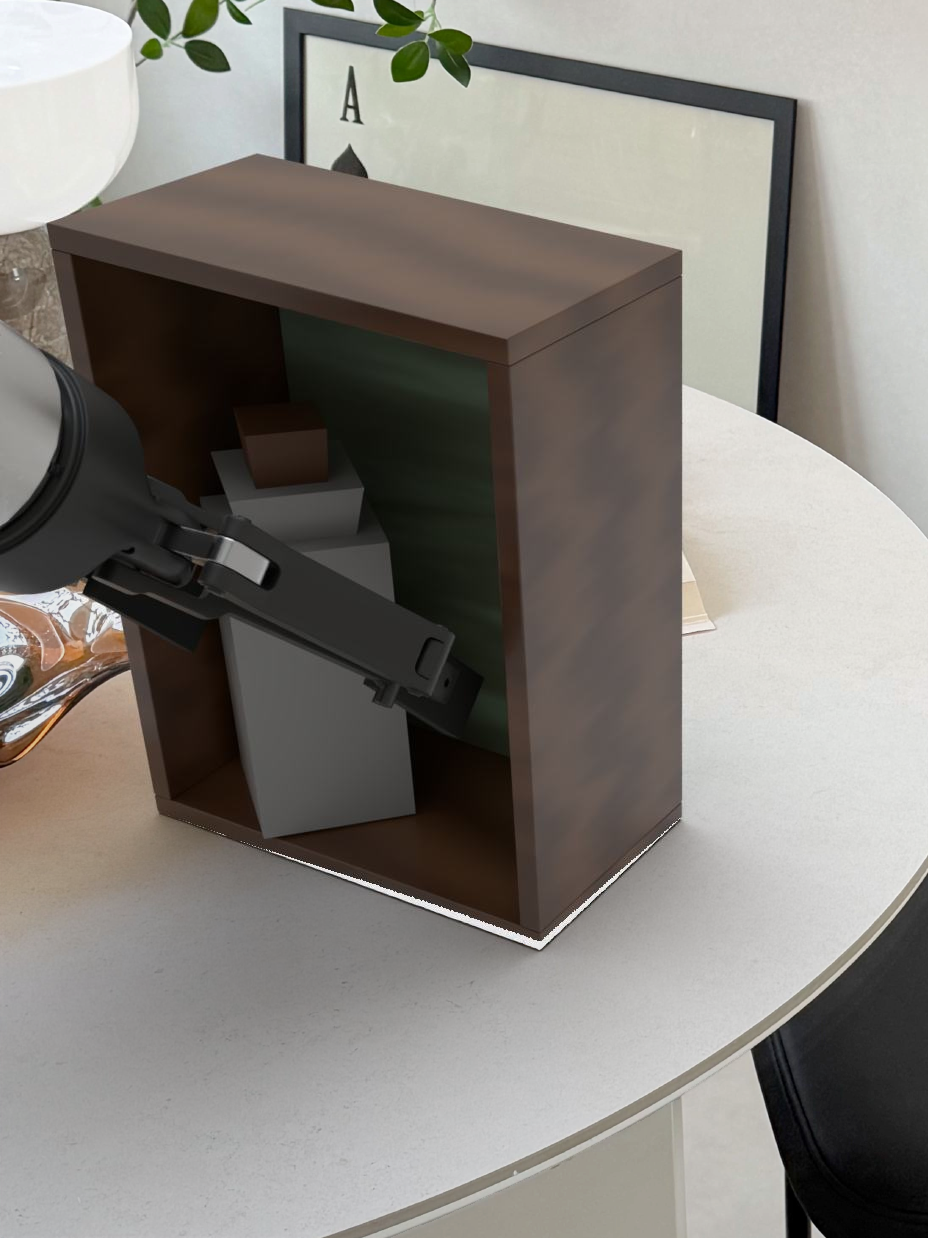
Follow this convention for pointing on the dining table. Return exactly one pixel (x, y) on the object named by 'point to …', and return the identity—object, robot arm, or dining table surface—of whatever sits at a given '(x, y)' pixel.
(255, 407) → the perfume bottle
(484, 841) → the cabinet
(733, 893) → the dining table surface
